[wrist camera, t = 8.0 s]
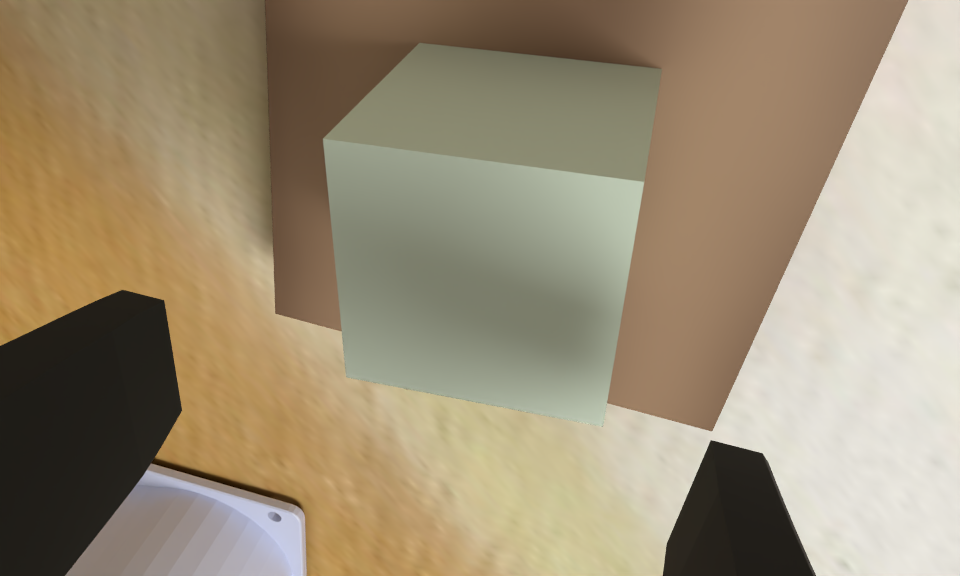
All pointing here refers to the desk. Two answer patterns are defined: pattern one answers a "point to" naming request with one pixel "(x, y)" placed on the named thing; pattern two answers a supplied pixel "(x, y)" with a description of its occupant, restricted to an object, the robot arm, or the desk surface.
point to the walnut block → (671, 161)
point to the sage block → (490, 225)
